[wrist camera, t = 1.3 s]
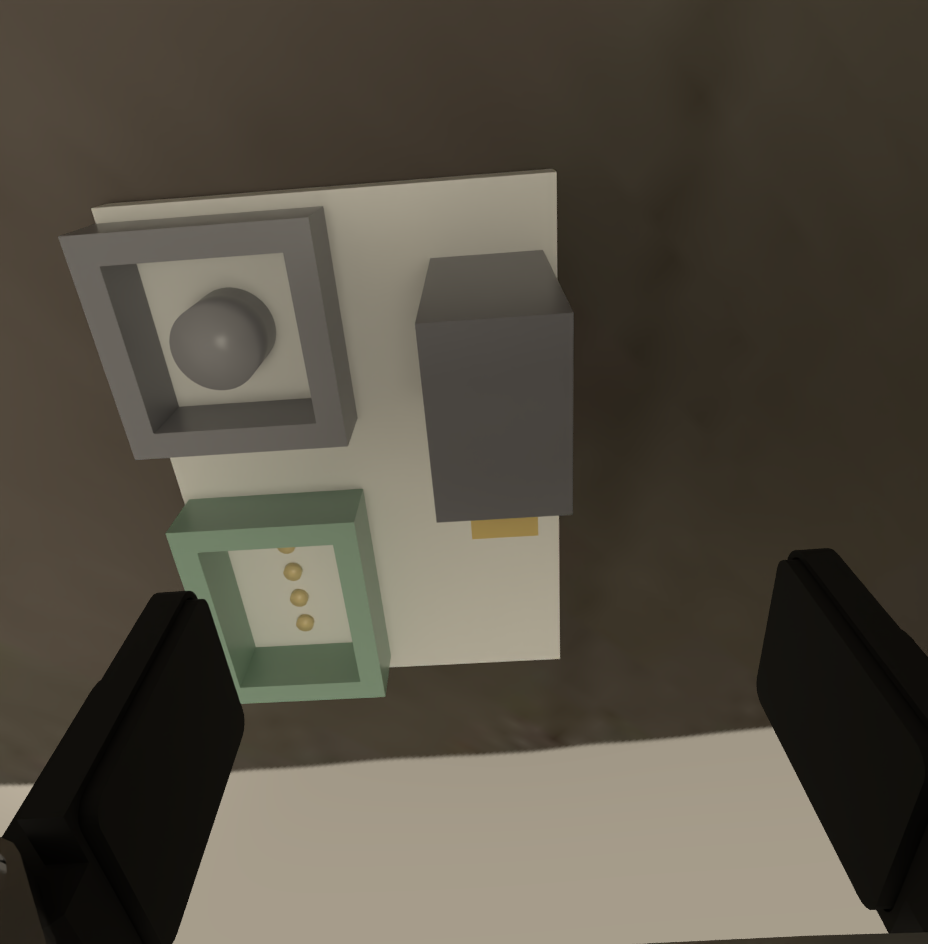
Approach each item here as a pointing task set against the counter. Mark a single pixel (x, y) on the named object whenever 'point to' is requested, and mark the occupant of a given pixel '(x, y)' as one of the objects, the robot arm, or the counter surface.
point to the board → (320, 389)
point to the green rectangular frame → (285, 527)
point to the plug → (497, 391)
